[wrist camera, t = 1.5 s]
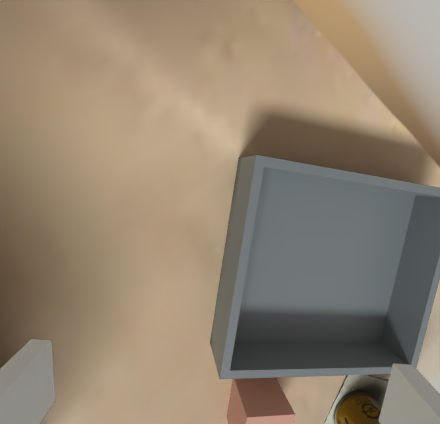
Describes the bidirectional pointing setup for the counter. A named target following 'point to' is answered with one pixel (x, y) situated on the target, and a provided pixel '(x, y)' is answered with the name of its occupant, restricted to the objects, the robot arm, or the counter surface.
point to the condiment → (358, 401)
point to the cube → (258, 402)
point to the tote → (324, 272)
